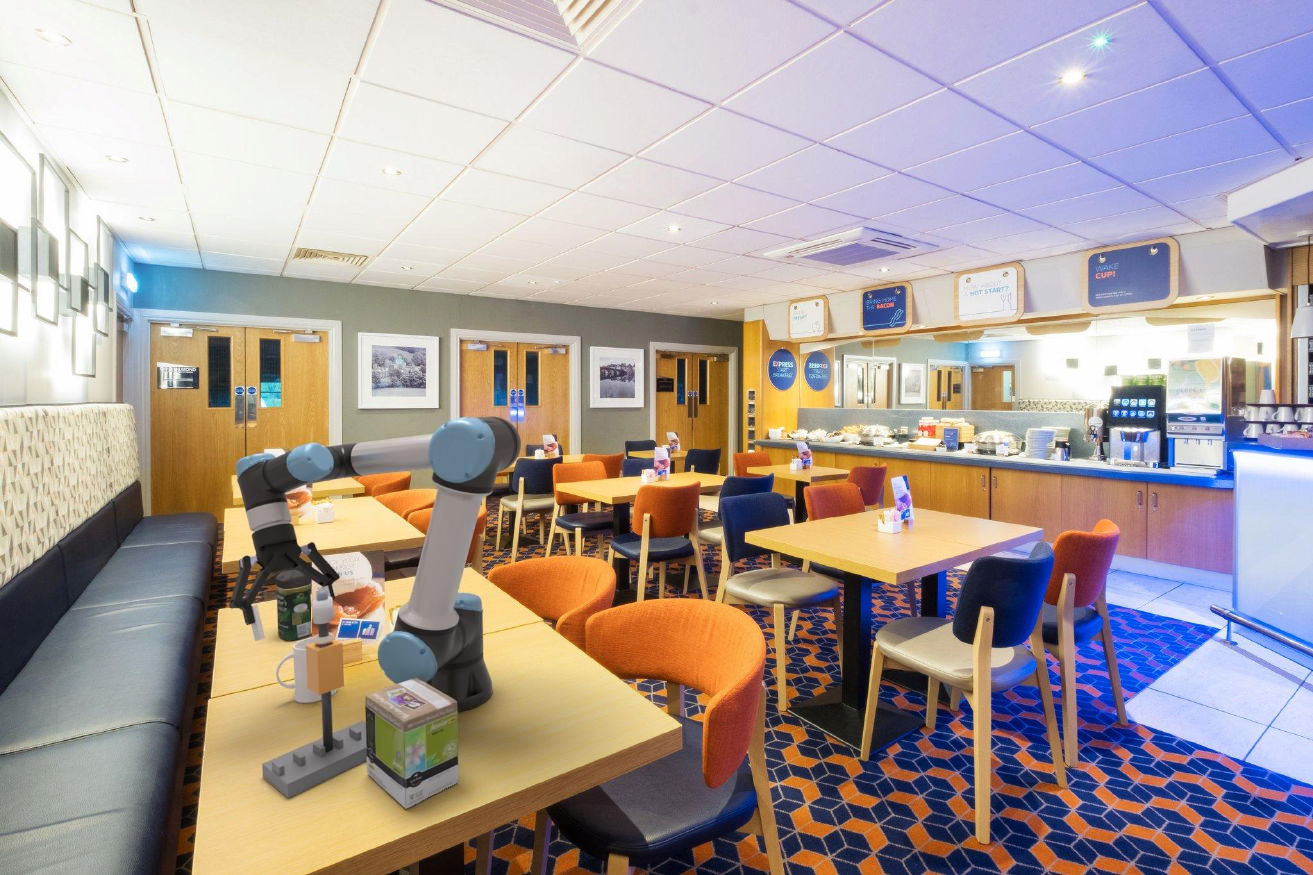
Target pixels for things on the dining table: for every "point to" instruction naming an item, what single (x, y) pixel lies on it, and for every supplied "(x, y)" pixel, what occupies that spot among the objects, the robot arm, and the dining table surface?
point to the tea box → (411, 740)
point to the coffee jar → (293, 605)
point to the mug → (300, 673)
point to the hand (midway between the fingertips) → (297, 628)
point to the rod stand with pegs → (334, 748)
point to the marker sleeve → (324, 667)
